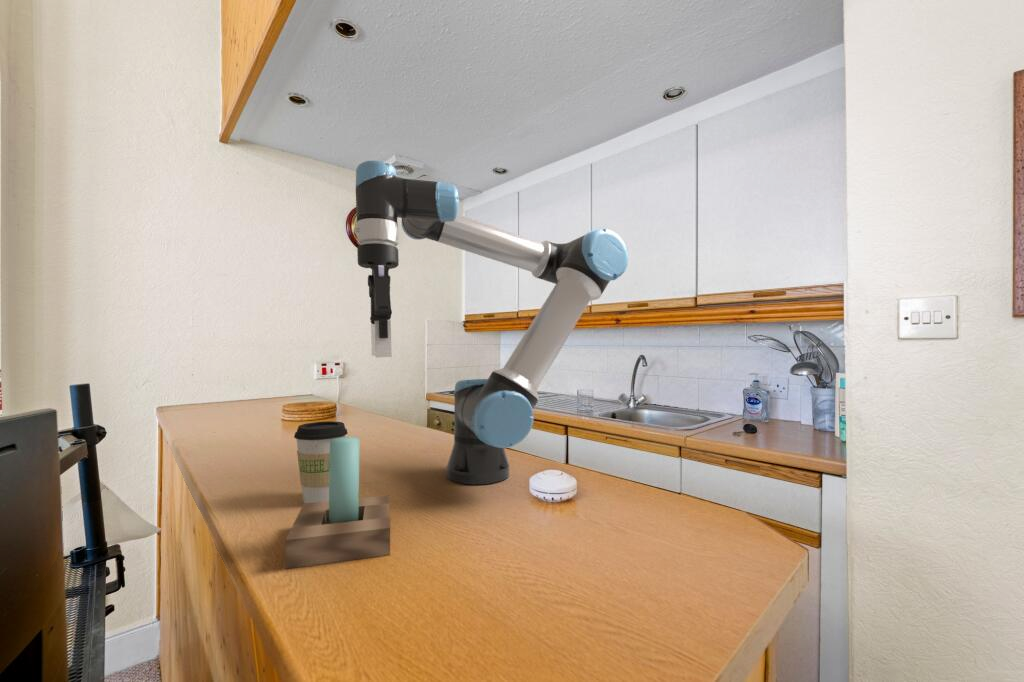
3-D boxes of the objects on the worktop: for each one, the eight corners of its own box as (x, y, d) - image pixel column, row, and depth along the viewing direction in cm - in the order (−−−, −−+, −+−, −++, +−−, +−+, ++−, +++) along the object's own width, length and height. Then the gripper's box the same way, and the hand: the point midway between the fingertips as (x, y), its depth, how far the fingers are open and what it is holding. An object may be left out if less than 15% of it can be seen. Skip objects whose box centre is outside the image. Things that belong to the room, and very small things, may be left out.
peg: (358, 532, 69) (360, 436, 70) (357, 544, 65) (358, 442, 65) (330, 535, 68) (331, 437, 68) (326, 548, 64) (328, 443, 64)
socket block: (388, 517, 75) (389, 495, 76) (389, 554, 62) (390, 527, 62) (303, 527, 71) (303, 503, 71) (285, 569, 58) (285, 540, 58)
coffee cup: (308, 513, 77) (309, 432, 77) (283, 501, 83) (285, 425, 83) (356, 498, 85) (357, 424, 85) (330, 488, 91) (331, 419, 91)
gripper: (356, 257, 91) (359, 355, 91) (358, 227, 67) (361, 359, 67) (392, 259, 93) (394, 354, 93) (405, 231, 70) (409, 357, 70)
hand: (380, 356), depth 80 cm, fingers open, 13 cm apart
